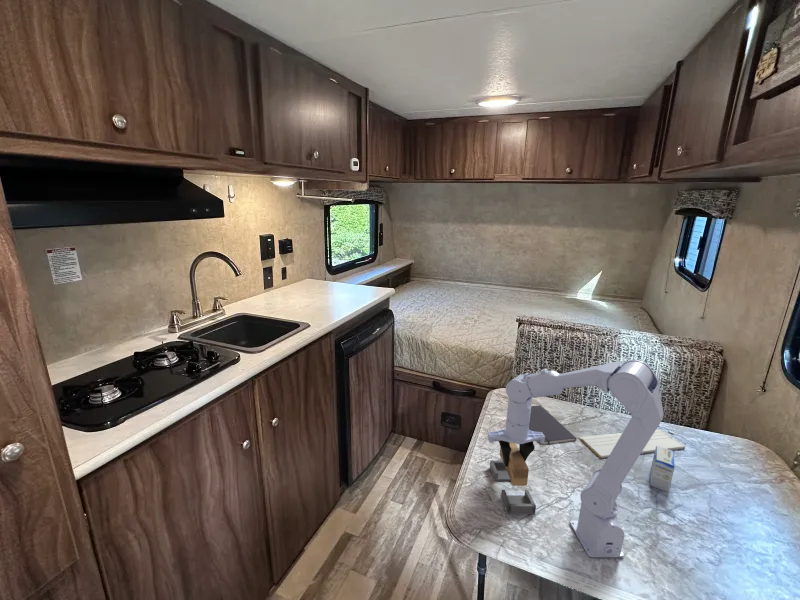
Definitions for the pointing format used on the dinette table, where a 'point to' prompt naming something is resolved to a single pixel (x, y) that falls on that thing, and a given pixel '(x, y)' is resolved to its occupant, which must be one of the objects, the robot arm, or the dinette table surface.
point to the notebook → (548, 426)
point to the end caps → (512, 502)
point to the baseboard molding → (606, 443)
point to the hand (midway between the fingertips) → (513, 464)
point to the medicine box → (662, 468)
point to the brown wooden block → (516, 467)
